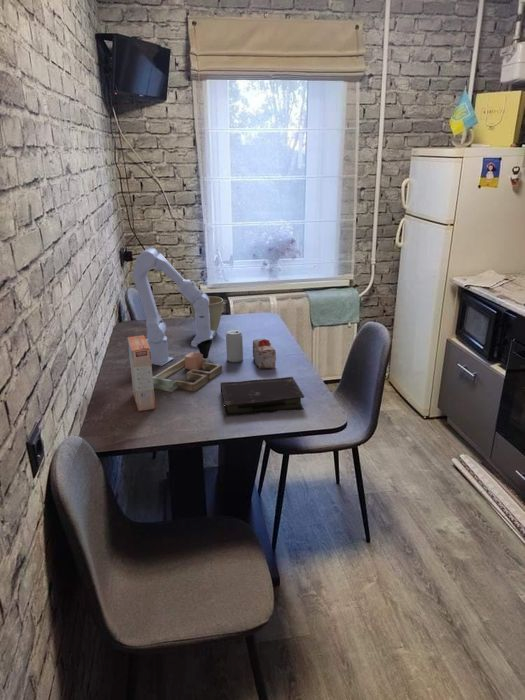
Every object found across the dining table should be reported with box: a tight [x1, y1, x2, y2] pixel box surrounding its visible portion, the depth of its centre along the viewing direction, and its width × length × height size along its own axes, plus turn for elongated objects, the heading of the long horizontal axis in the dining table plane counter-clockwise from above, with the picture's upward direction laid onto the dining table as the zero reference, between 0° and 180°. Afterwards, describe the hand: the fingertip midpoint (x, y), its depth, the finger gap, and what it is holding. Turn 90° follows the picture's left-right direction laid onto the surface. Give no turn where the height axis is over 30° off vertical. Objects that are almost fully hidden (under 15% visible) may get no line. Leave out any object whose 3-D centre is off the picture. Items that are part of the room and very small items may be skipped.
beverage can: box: [225, 329, 244, 363], centre depth 192 cm, size 6×6×12 cm
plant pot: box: [189, 295, 224, 335], centre depth 223 cm, size 15×15×16 cm
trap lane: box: [153, 357, 223, 393], centre depth 178 cm, size 17×25×4 cm
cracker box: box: [127, 335, 156, 412], centre depth 158 cm, size 14×6×21 cm, turn 20°
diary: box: [220, 376, 305, 417], centre depth 160 cm, size 19×25×5 cm
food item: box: [252, 338, 277, 370], centre depth 189 cm, size 14×8×10 cm, turn 15°
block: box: [183, 351, 204, 370], centre depth 187 cm, size 5×5×5 cm
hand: (204, 357), depth 194 cm, fingers closed
